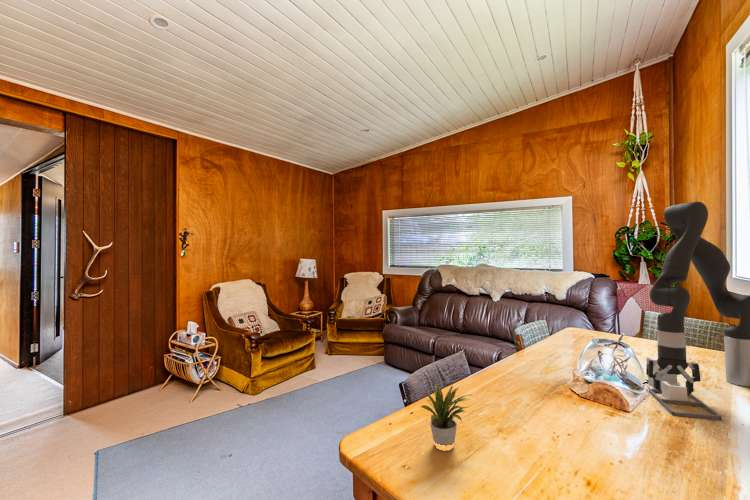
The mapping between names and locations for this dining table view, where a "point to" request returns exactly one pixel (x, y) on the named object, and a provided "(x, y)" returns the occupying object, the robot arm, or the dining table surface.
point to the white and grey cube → (674, 391)
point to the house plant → (444, 416)
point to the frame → (697, 403)
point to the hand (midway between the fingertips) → (673, 391)
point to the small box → (664, 378)
